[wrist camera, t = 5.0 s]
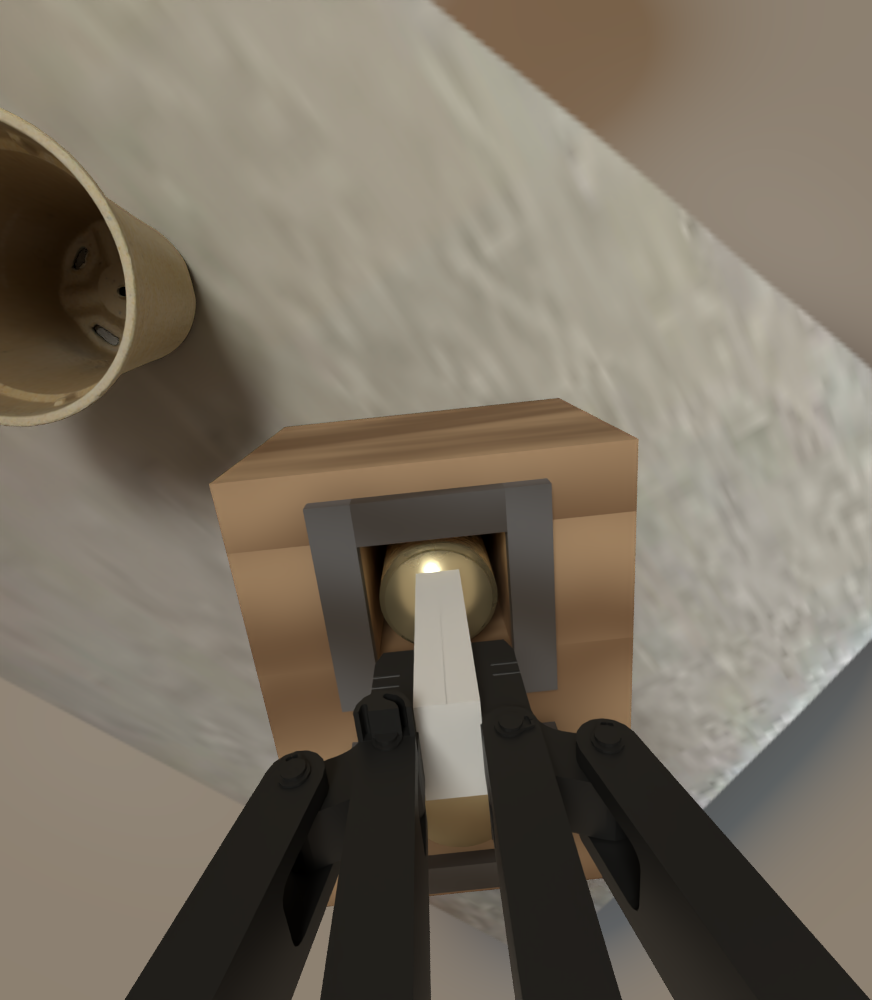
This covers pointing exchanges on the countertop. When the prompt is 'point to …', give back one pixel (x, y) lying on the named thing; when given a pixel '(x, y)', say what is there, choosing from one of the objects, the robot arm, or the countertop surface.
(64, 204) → the flower pot
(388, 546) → the peg
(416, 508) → the socket block
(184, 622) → the countertop surface
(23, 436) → the countertop surface
